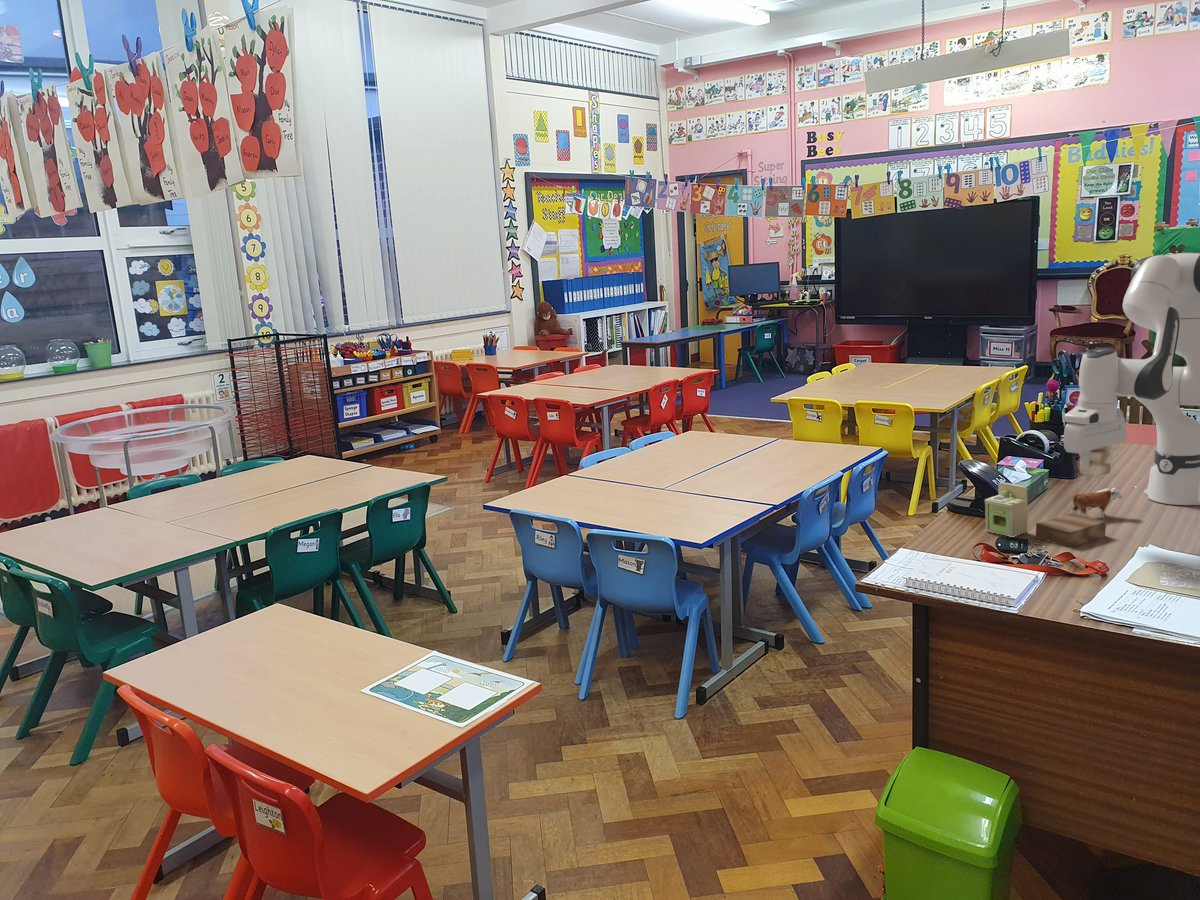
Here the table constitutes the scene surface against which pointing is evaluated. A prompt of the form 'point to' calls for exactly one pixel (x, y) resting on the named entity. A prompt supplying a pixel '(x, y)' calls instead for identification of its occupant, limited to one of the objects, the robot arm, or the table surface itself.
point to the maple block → (1098, 462)
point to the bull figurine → (1095, 500)
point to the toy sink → (1007, 510)
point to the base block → (1071, 529)
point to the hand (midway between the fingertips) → (1094, 464)
